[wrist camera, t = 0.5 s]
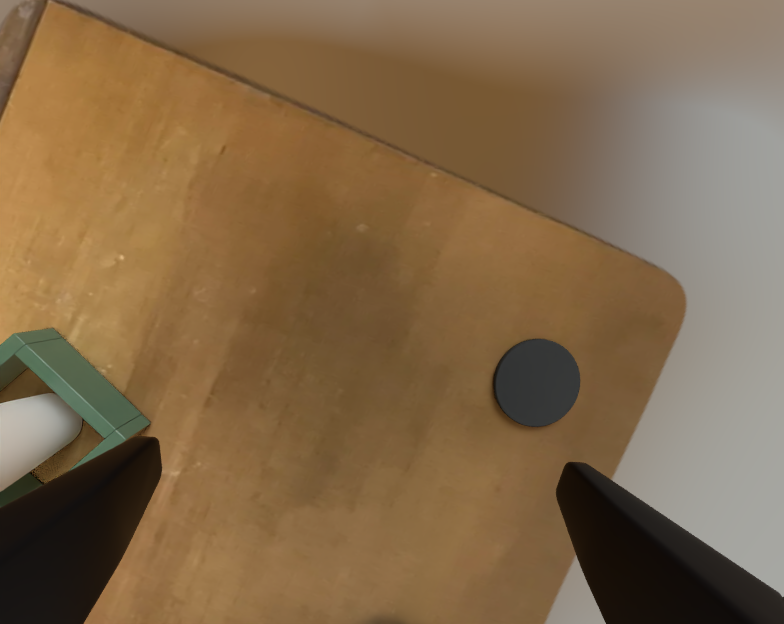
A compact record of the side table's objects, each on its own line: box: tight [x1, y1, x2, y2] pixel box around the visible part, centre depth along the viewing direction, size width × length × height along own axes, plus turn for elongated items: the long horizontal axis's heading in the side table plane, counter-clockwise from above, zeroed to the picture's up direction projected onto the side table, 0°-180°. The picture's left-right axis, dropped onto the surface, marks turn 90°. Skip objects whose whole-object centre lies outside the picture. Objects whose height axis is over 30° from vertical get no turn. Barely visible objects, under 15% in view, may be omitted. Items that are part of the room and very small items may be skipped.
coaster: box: [494, 339, 580, 427], centre depth 25 cm, size 6×6×1 cm
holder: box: [0, 328, 151, 507], centre depth 21 cm, size 8×8×2 cm
